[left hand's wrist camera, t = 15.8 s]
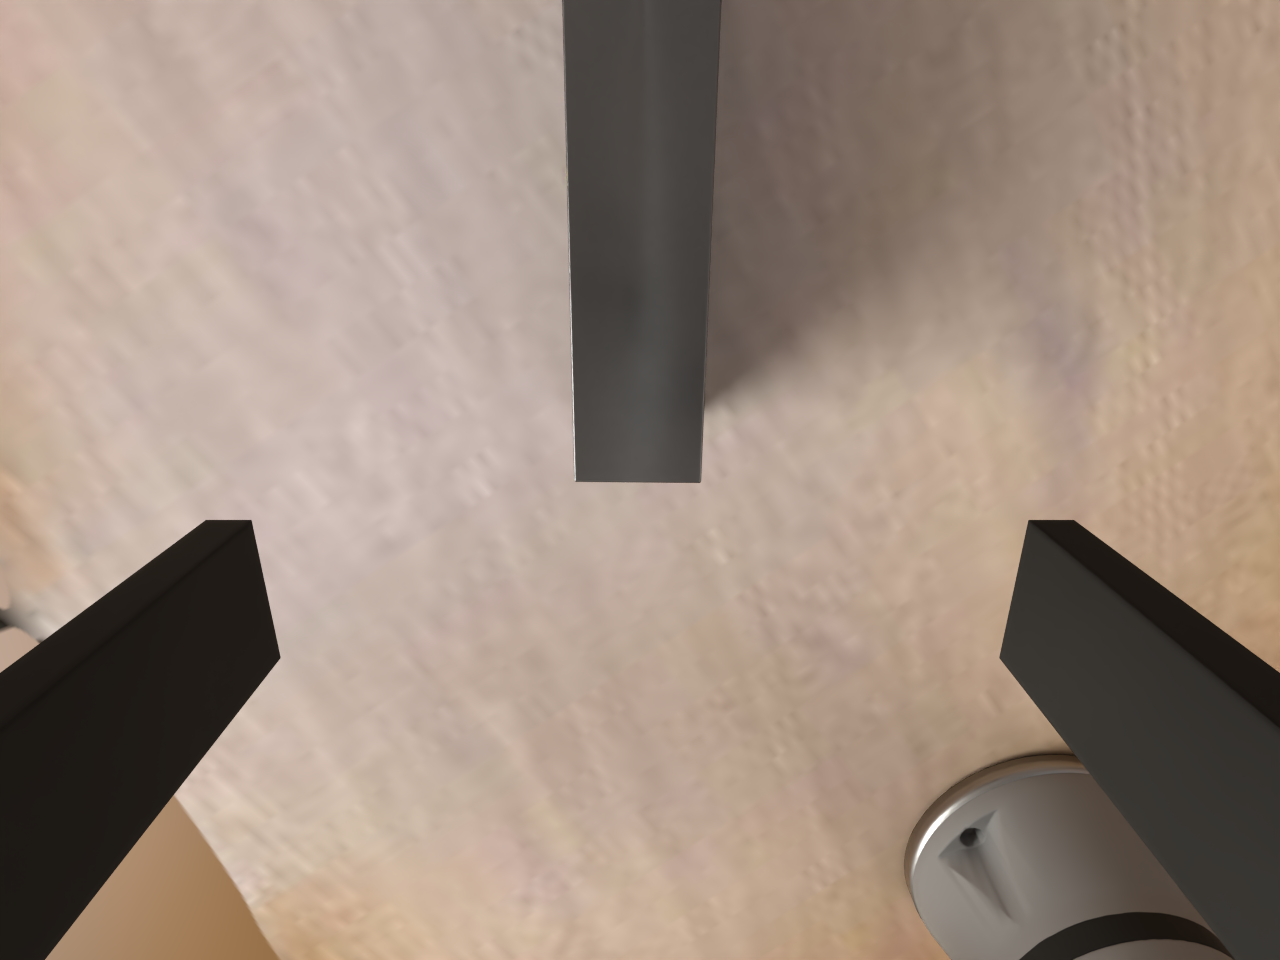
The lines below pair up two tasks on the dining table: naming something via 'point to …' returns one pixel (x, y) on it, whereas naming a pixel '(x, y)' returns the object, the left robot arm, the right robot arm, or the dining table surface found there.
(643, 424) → the bar
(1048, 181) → the dining table surface
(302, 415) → the dining table surface
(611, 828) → the dining table surface
